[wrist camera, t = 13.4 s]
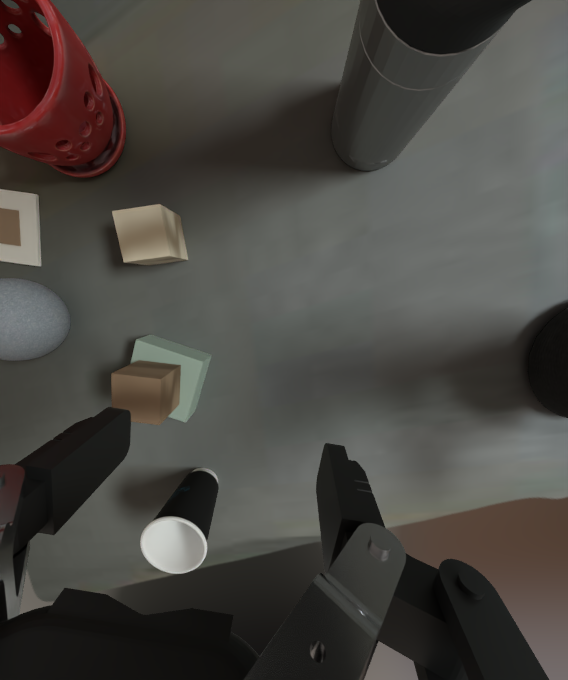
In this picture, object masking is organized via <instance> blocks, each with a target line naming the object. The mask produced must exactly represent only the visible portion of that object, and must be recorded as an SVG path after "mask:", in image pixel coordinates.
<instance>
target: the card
mask: <svg viewBox="0 0 568 680" xmlns="http://www.w3.org/2000/svg"><path fill="white" fill-rule="evenodd" d="M0 261H4V262H11V263H18V264H25V265H32V266H40V267H41V243H40V217H39V195H37V194H32V193H24V192H17V191H10V190H3V189H0Z"/></svg>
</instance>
